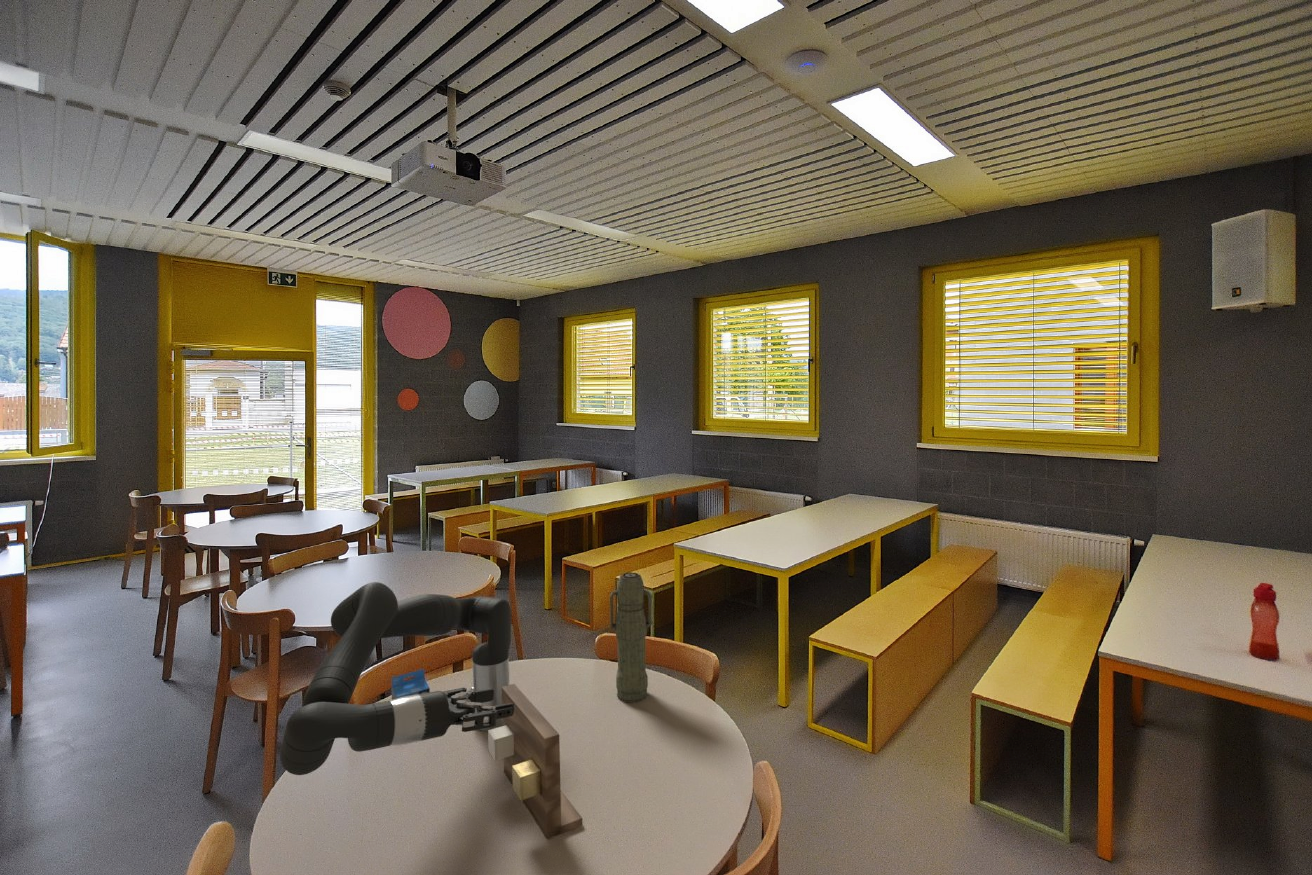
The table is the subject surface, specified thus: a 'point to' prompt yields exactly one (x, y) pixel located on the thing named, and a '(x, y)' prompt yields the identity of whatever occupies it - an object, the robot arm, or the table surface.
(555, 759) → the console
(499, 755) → the key white
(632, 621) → the thermos
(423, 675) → the label tape cartridge
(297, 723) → the robot arm
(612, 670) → the table surface
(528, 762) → the yellow rectangular block
